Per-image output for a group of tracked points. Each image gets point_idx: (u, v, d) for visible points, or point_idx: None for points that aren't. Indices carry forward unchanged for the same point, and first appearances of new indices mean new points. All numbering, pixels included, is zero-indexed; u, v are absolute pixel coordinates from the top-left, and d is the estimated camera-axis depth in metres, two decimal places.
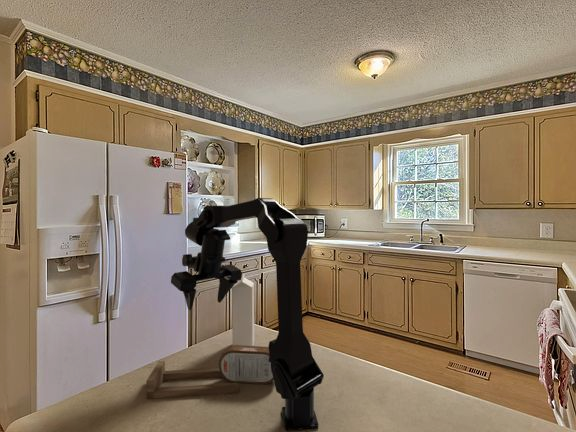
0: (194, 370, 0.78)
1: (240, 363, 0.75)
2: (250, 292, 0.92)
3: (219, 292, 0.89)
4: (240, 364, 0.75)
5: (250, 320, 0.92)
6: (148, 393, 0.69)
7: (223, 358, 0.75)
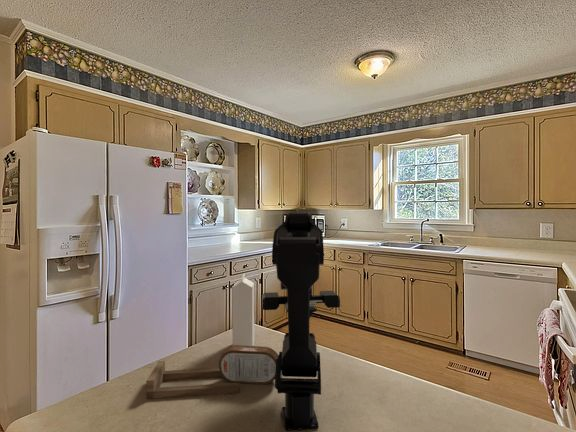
0: (194, 370, 0.78)
1: (240, 363, 0.75)
2: (250, 292, 0.92)
3: None
4: (240, 364, 0.75)
5: (250, 320, 0.92)
6: (148, 393, 0.69)
7: (223, 358, 0.75)
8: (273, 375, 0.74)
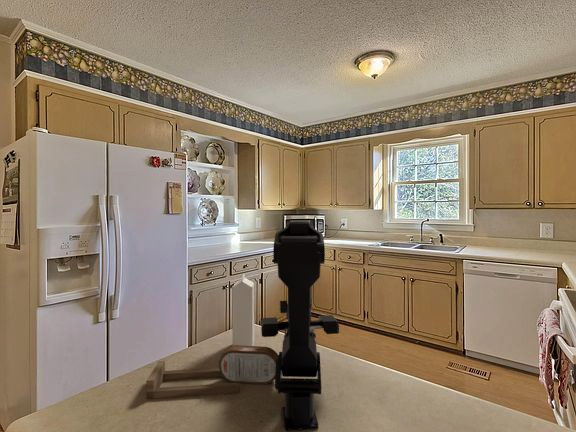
0: (194, 370, 0.78)
1: (240, 363, 0.75)
2: (250, 292, 0.92)
3: None
4: (240, 364, 0.75)
5: (250, 320, 0.92)
6: (148, 393, 0.69)
7: (223, 358, 0.75)
8: (273, 375, 0.74)
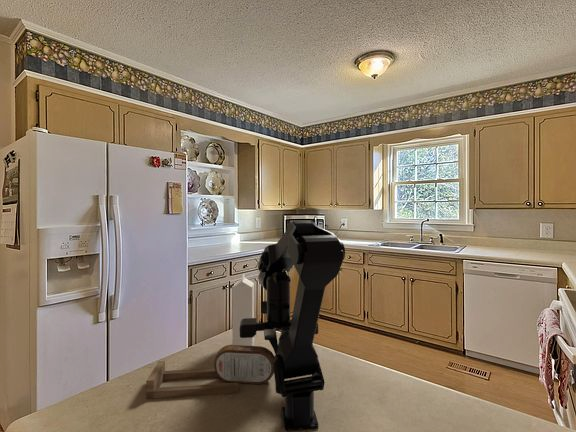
0: (194, 370, 0.78)
1: (235, 362, 0.75)
2: (250, 292, 0.92)
3: None
4: (236, 364, 0.75)
5: None
6: (148, 393, 0.69)
7: (218, 358, 0.75)
8: (268, 375, 0.74)
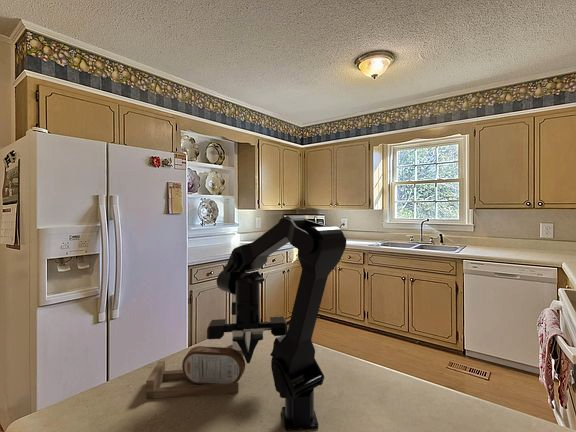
0: None
1: (203, 364, 0.74)
2: None
3: None
4: (204, 366, 0.74)
5: None
6: (148, 393, 0.69)
7: (186, 359, 0.74)
8: (236, 377, 0.73)
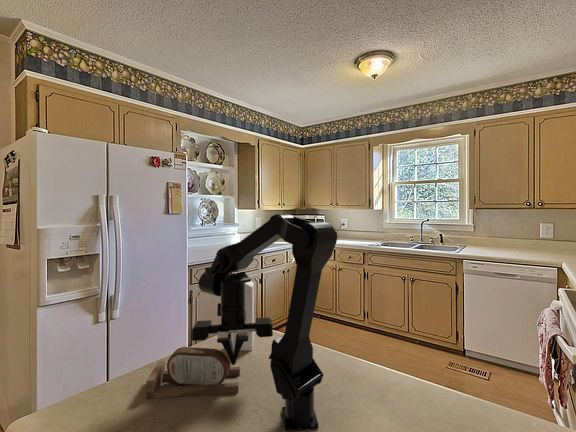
0: None
1: (188, 365, 0.73)
2: (250, 292, 0.92)
3: (234, 351, 0.76)
4: (188, 367, 0.74)
5: (250, 320, 0.92)
6: (148, 393, 0.69)
7: (170, 360, 0.74)
8: (220, 378, 0.73)
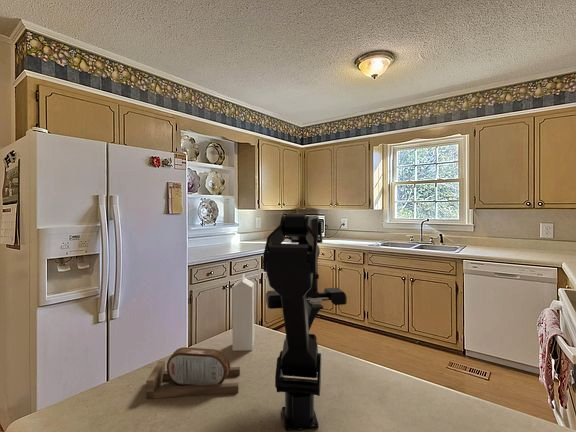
0: None
1: (187, 365, 0.73)
2: (250, 292, 0.92)
3: None
4: (188, 367, 0.74)
5: (250, 320, 0.92)
6: (148, 393, 0.69)
7: (170, 360, 0.74)
8: (220, 378, 0.73)
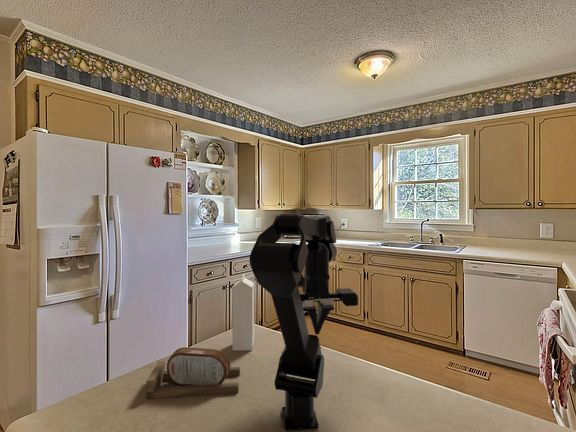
0: None
1: (187, 365, 0.73)
2: (250, 292, 0.92)
3: (317, 321, 0.75)
4: (188, 367, 0.74)
5: (250, 320, 0.92)
6: (148, 393, 0.69)
7: (170, 360, 0.74)
8: (220, 378, 0.73)
